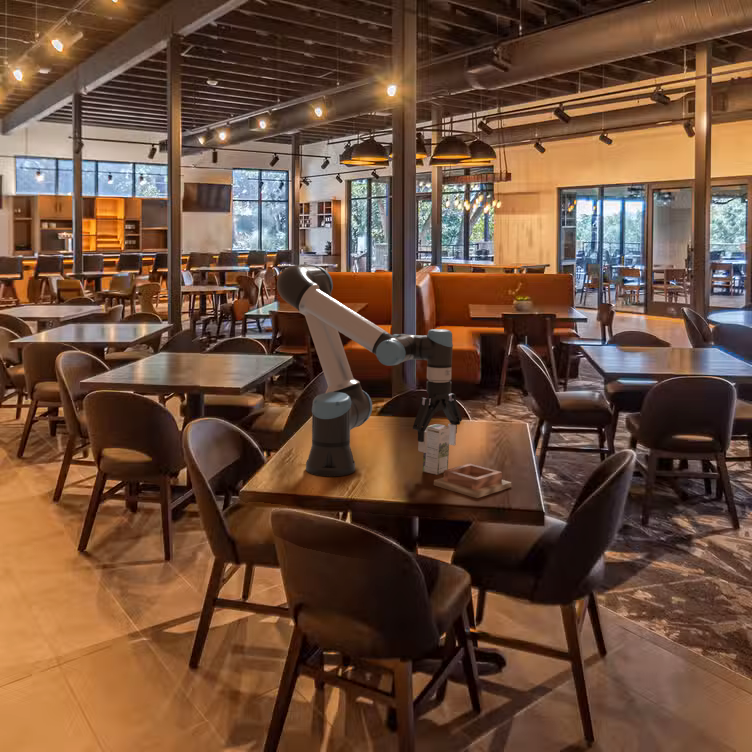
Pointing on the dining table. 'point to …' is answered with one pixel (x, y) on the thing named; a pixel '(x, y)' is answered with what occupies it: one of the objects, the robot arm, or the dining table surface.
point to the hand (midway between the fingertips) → (437, 448)
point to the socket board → (472, 480)
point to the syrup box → (436, 449)
